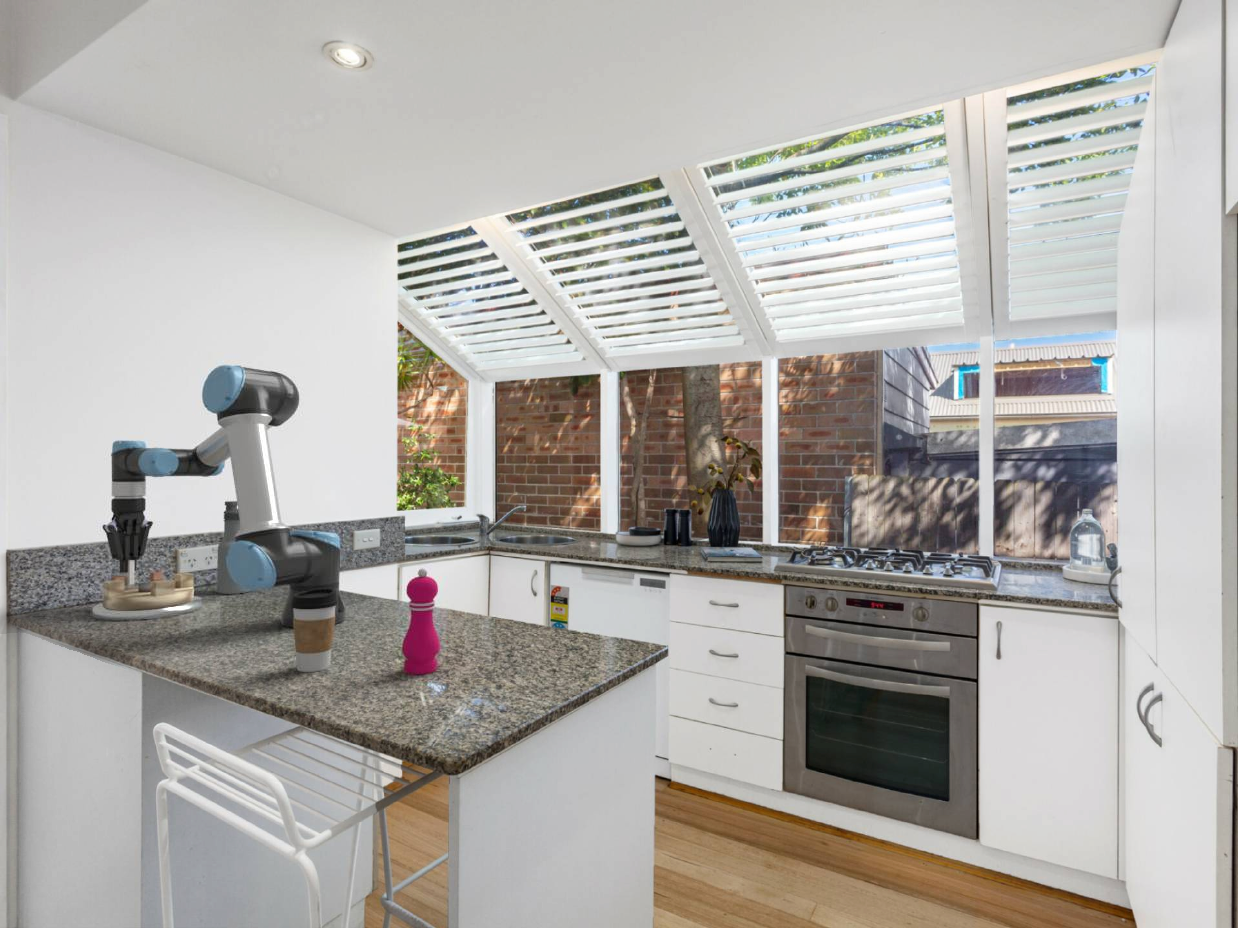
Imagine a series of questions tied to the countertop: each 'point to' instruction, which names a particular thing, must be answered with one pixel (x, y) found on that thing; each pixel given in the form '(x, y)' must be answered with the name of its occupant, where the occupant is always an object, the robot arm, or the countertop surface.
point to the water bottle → (230, 530)
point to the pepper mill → (421, 626)
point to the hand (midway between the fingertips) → (127, 584)
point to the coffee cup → (314, 628)
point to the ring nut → (148, 592)
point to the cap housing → (146, 611)
